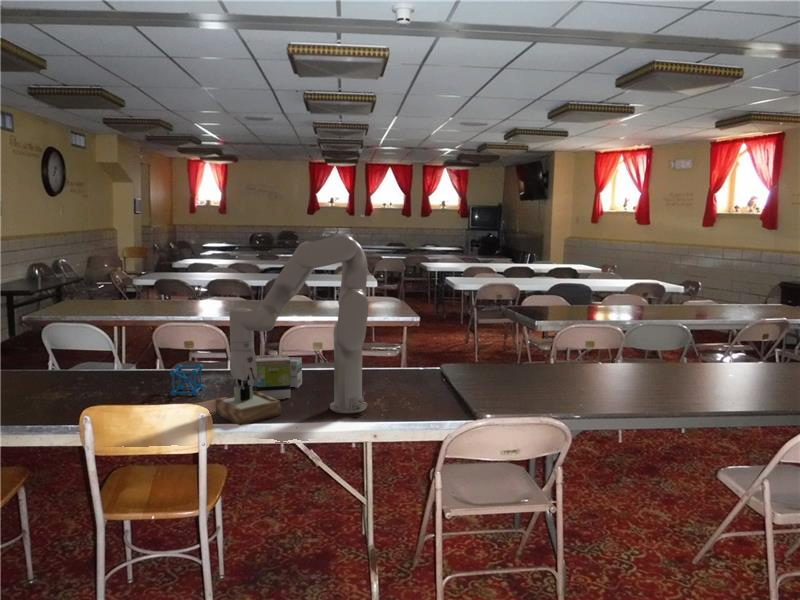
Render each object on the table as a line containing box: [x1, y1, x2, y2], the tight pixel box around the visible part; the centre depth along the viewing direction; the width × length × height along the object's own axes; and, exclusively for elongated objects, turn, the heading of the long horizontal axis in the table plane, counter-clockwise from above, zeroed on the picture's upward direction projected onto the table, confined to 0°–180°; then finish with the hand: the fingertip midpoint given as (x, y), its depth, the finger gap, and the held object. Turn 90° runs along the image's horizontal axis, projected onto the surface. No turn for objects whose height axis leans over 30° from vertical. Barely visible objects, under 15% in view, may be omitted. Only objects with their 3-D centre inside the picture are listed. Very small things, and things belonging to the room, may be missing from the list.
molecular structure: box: [169, 363, 205, 397], centre depth 228 cm, size 10×10×10 cm
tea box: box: [247, 354, 291, 400], centre depth 224 cm, size 15×10×15 cm
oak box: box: [215, 391, 282, 426], centre depth 205 cm, size 16×15×5 cm
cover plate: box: [223, 385, 272, 409], centre depth 205 cm, size 13×12×6 cm
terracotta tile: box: [194, 396, 229, 414], centre depth 214 cm, size 12×12×1 cm
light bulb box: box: [288, 356, 303, 389], centre depth 239 cm, size 11×7×11 cm, turn 84°
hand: (243, 398), depth 207 cm, fingers closed on cover plate, 1 cm apart
